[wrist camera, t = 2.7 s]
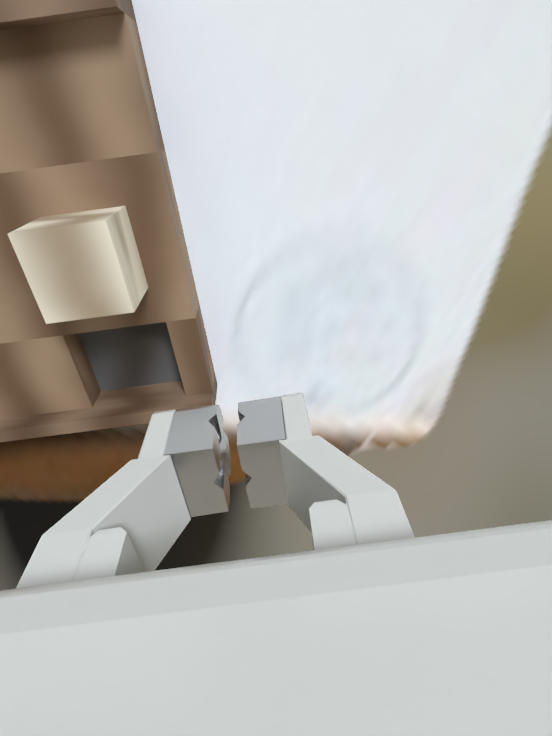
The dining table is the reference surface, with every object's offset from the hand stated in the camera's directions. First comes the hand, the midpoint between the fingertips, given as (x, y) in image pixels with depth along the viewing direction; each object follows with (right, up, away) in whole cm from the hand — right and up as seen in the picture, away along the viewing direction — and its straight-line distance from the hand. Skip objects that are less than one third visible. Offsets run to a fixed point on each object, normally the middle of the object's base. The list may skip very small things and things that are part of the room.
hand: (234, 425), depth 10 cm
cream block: (-10, +8, +16) cm, 21 cm away
